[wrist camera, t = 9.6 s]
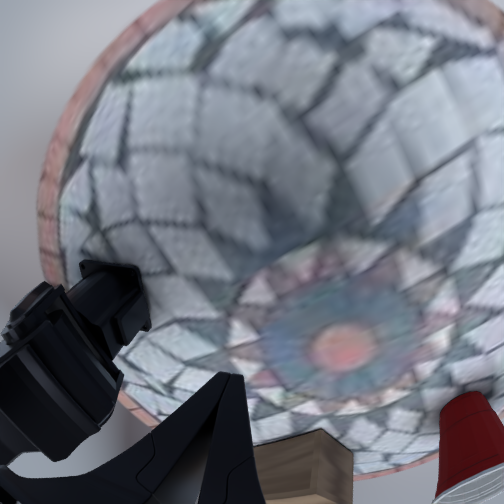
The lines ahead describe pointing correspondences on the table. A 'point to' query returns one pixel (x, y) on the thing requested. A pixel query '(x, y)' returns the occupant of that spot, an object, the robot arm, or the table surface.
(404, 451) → the table surface
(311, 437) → the brown box
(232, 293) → the table surface
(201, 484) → the robot arm
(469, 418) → the plastic cup
